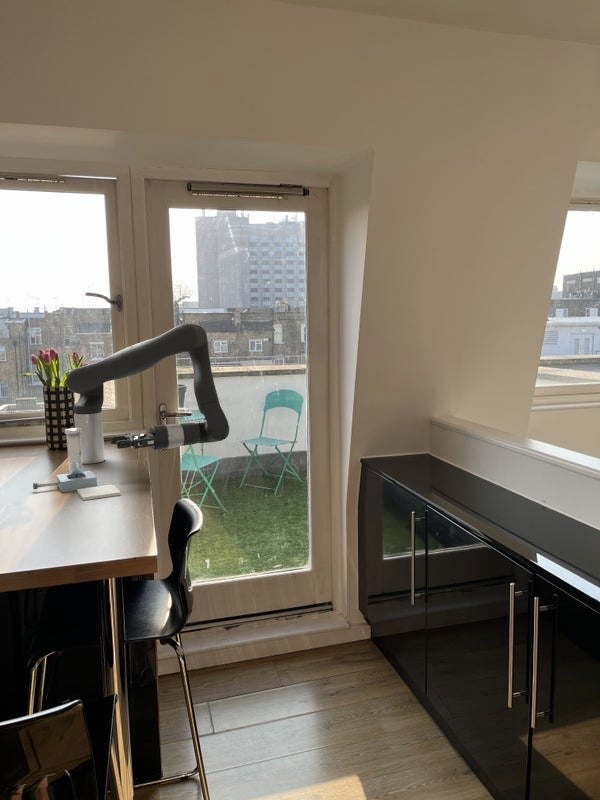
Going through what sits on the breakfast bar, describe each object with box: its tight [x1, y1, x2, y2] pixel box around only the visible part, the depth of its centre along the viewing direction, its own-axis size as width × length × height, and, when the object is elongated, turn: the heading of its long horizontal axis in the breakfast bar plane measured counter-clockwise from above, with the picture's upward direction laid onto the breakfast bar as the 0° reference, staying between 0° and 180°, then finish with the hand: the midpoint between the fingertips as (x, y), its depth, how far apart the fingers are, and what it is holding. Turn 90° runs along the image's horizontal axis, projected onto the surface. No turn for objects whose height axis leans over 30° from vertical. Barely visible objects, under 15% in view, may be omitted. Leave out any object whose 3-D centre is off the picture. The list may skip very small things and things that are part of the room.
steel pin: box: [64, 427, 84, 479], centre depth 183 cm, size 5×5×17 cm
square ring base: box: [32, 470, 98, 493], centre depth 182 cm, size 10×17×3 cm, turn 119°
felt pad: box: [76, 484, 122, 501], centre depth 175 cm, size 10×10×1 cm
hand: (113, 442), depth 187 cm, fingers open, 8 cm apart
